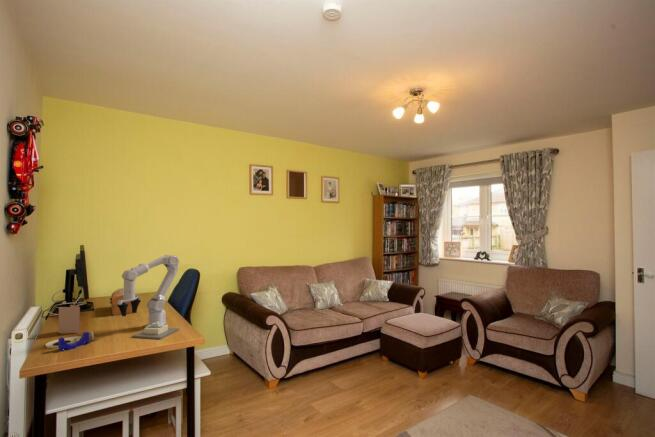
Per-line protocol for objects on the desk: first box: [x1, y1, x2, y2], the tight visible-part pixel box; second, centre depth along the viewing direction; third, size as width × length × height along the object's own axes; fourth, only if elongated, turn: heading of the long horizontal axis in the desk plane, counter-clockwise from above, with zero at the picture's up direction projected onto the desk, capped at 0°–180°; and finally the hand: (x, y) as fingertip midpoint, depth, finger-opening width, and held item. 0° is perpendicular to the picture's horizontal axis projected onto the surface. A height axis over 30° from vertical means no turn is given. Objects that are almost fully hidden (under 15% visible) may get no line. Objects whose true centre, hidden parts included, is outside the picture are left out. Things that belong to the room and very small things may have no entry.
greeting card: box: [58, 304, 81, 334], centre depth 191 cm, size 11×7×15 cm, turn 59°
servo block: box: [146, 322, 166, 328], centre depth 188 cm, size 3×9×6 cm, turn 88°
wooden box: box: [109, 287, 138, 317], centre depth 242 cm, size 30×16×14 cm, turn 33°
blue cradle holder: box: [57, 331, 90, 352], centre depth 168 cm, size 12×4×6 cm, turn 144°
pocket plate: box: [131, 324, 180, 340], centre depth 188 cm, size 16×18×4 cm
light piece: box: [45, 330, 95, 349], centre depth 175 cm, size 12×3×20 cm
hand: (129, 314), depth 191 cm, fingers open, 7 cm apart
